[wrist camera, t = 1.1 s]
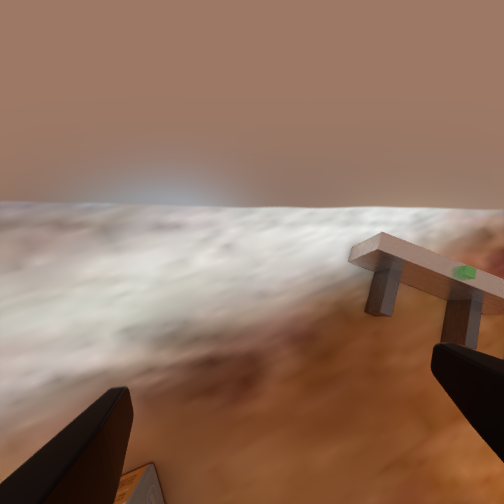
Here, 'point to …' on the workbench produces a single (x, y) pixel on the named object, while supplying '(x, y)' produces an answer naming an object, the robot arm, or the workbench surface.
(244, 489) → the workbench surface
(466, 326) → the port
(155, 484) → the hard drive box
